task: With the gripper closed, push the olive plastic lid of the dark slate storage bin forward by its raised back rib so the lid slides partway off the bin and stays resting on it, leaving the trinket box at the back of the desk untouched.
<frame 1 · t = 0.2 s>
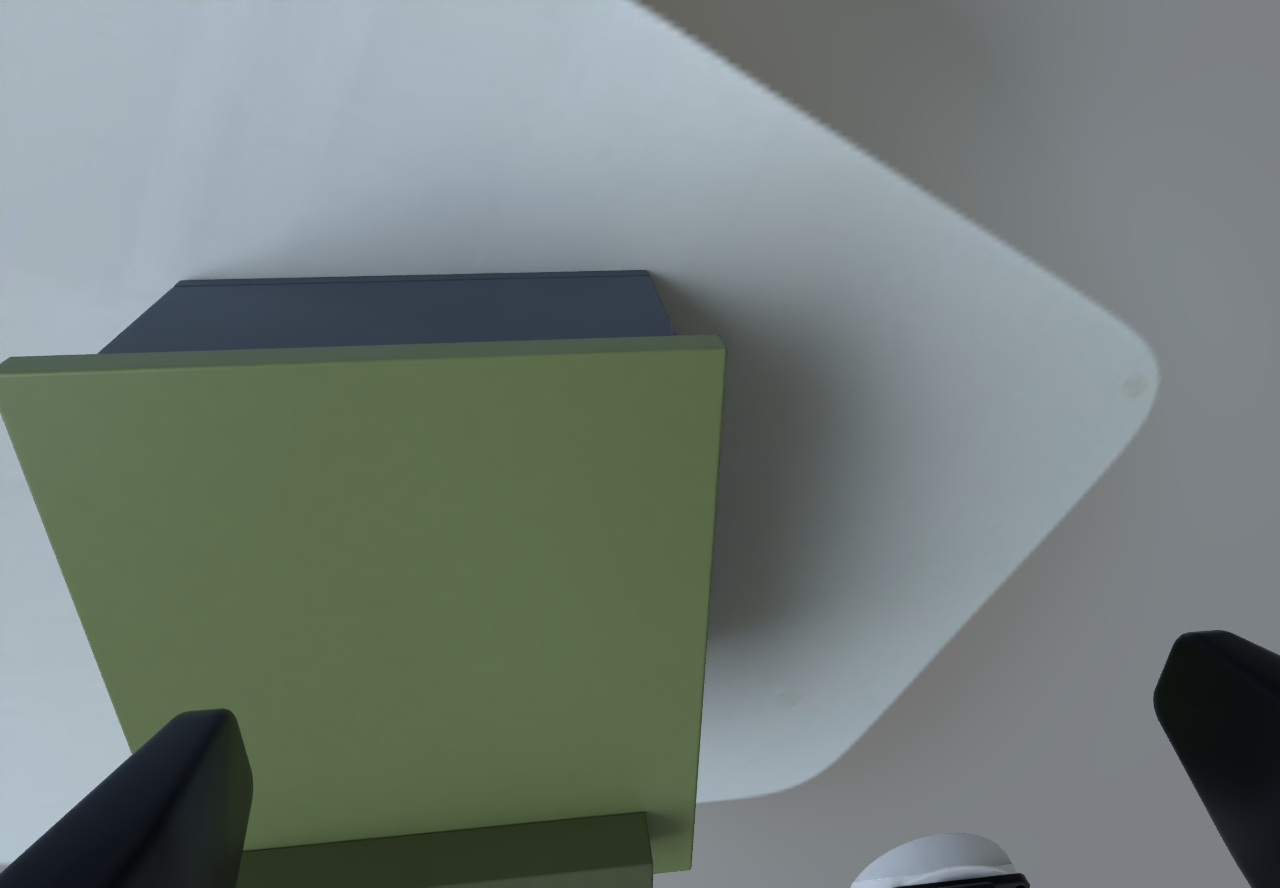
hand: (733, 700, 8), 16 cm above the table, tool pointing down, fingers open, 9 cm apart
bin: (446, 501, 25), on the table
bin lid: (424, 655, 19), point 6 cm above the table, touching bin
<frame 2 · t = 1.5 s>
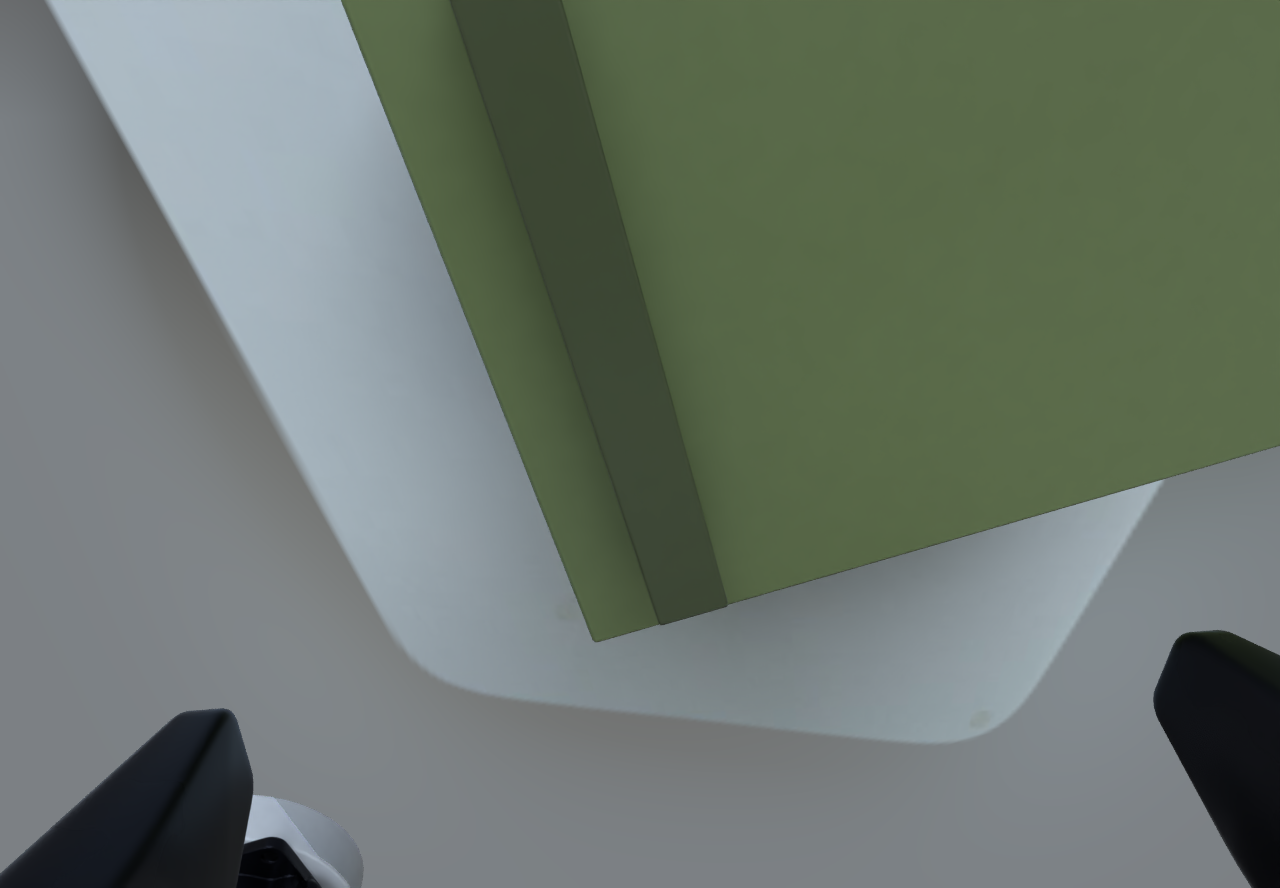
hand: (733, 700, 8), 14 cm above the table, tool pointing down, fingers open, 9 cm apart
bin lid: (932, 195, 13), point 6 cm above the table, touching bin
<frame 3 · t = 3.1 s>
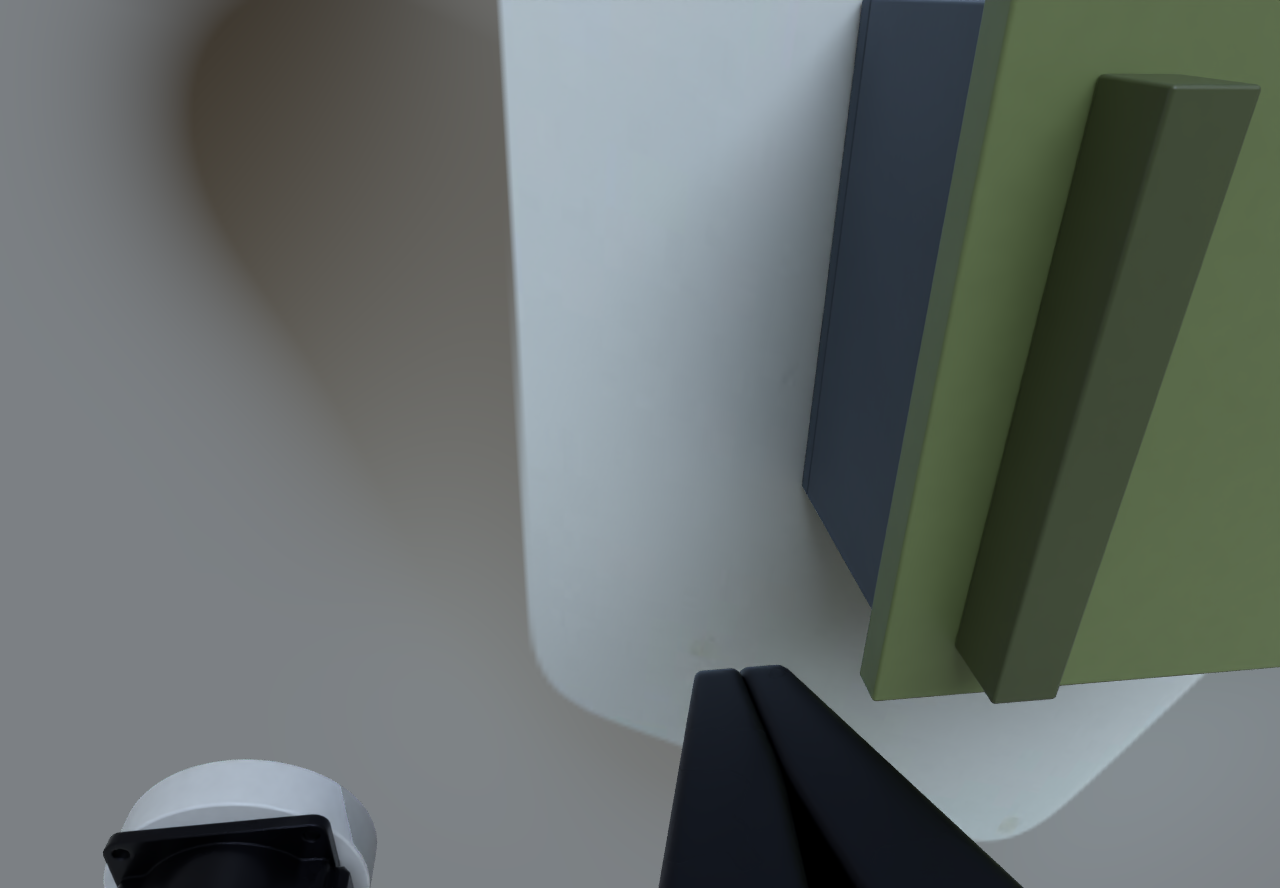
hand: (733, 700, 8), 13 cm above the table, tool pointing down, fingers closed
bin: (1094, 269, 21), on the table
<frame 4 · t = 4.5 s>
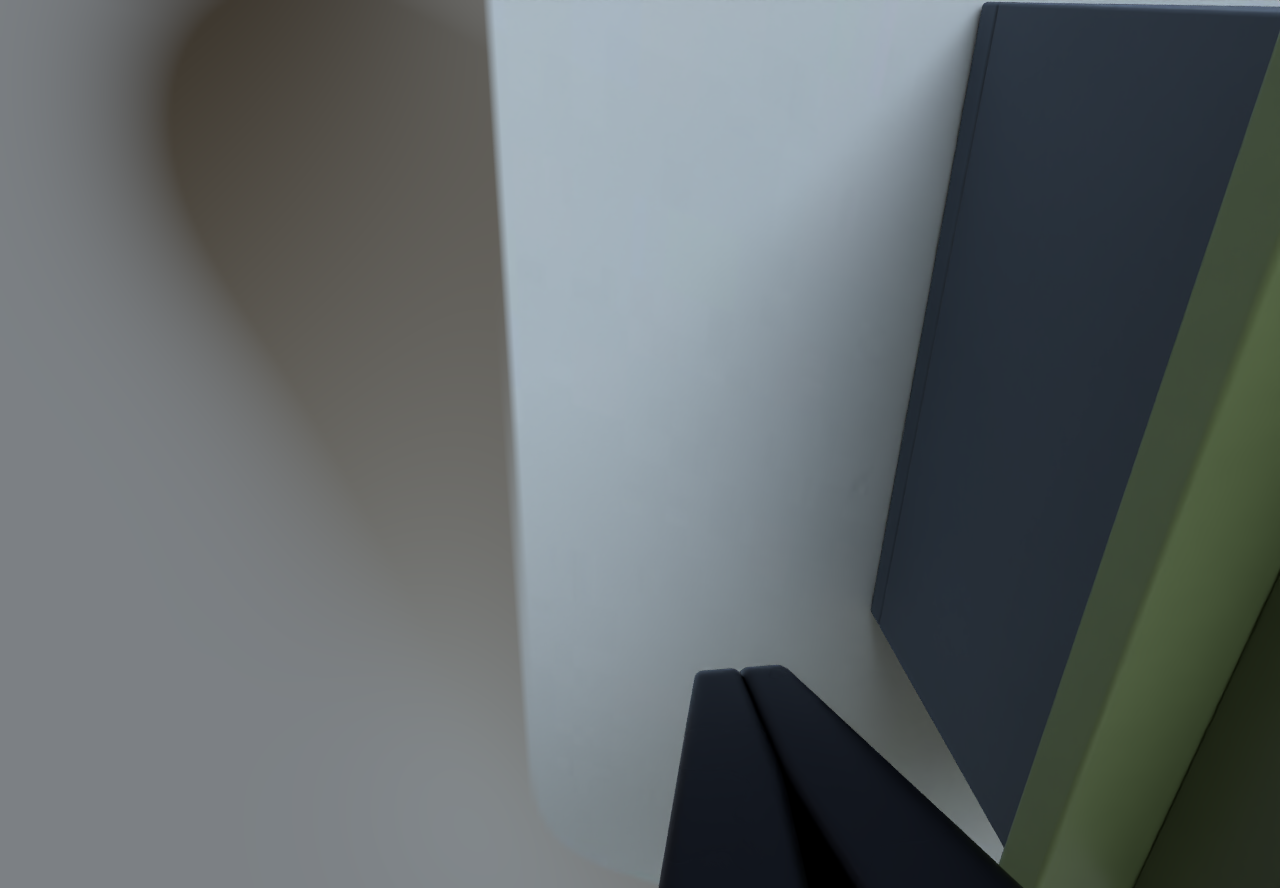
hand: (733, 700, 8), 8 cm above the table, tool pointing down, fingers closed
bin: (1253, 348, 16), on the table
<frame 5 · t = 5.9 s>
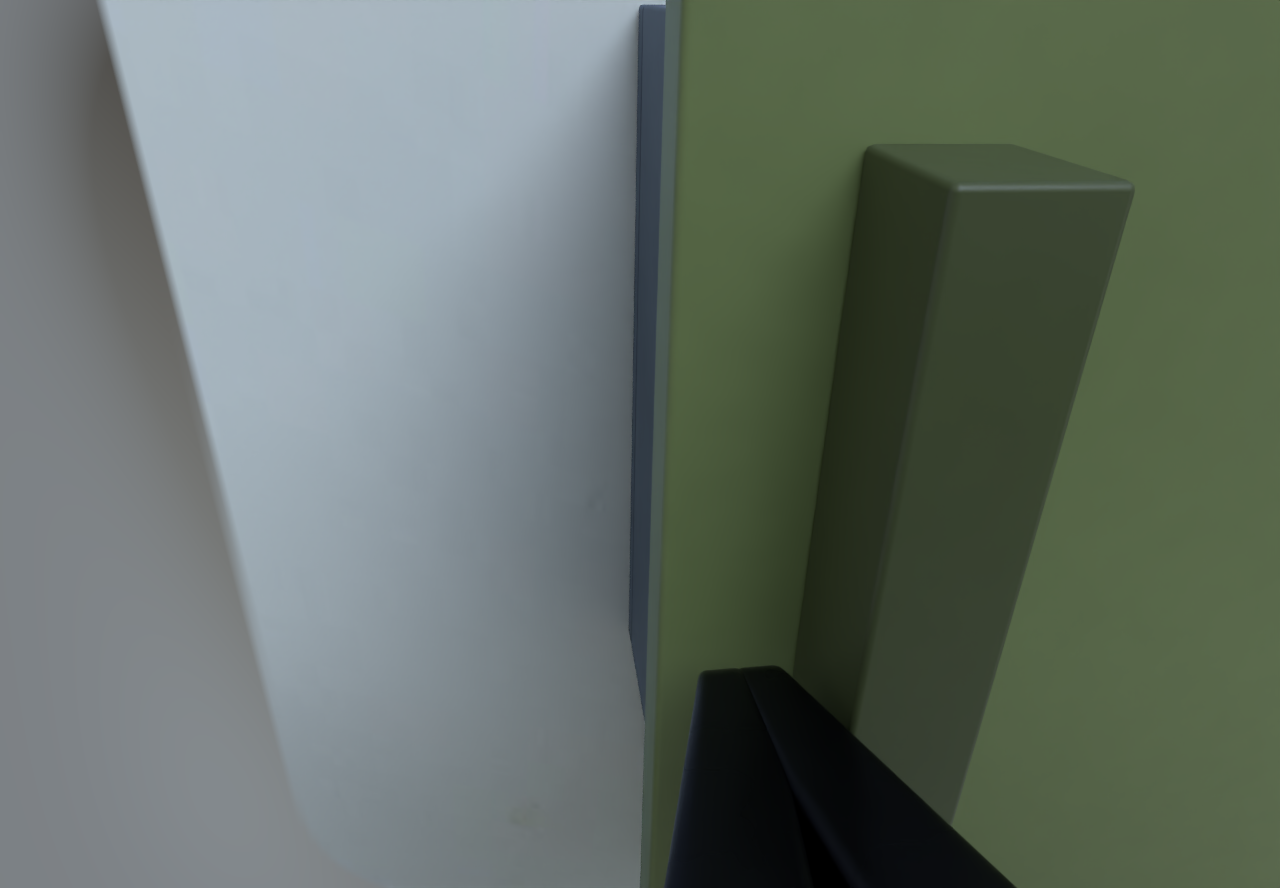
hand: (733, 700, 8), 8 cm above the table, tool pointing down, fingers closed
bin: (995, 362, 16), on the table
bin lid: (1271, 572, 10), point 7 cm above the table, touching bin, gripper
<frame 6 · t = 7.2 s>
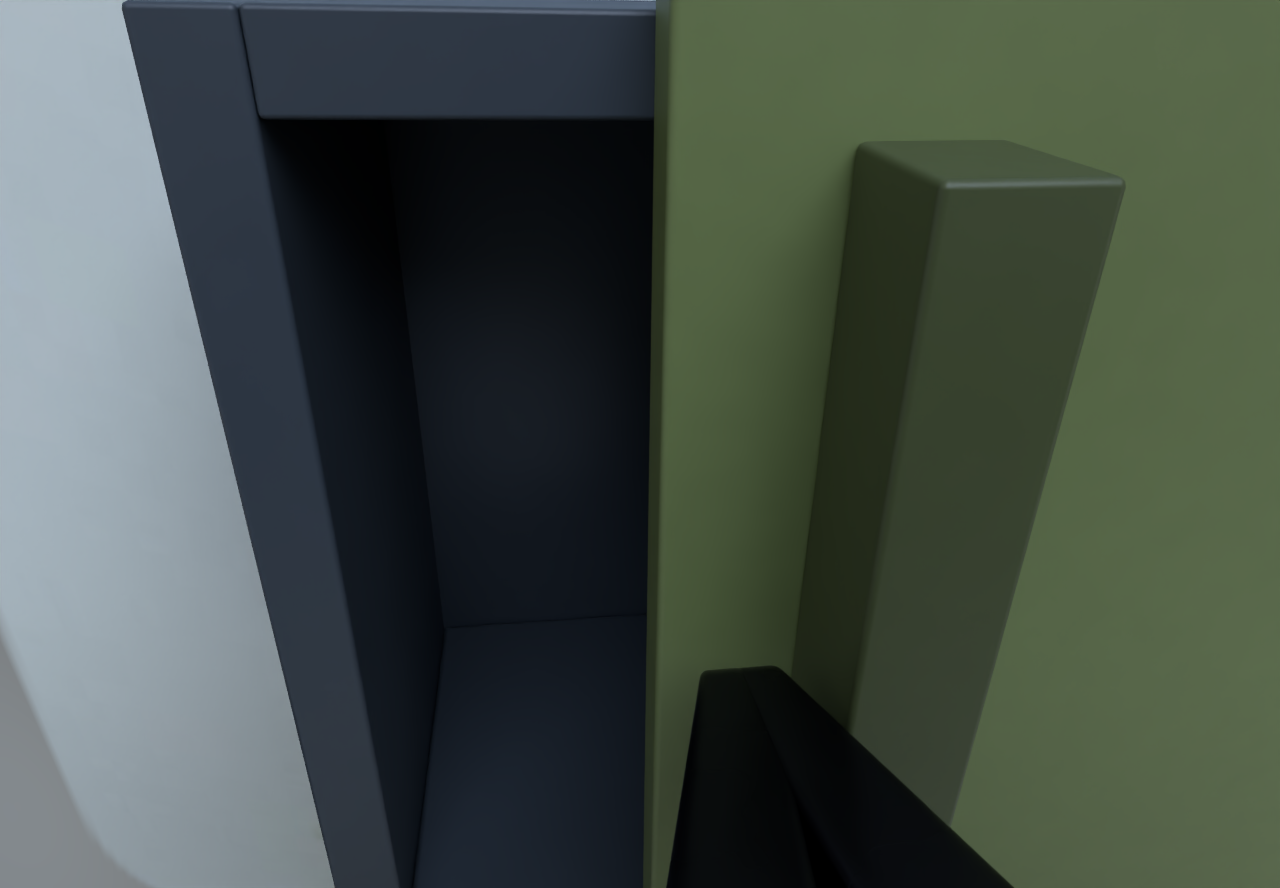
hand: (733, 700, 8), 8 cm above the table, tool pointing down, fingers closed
bin: (761, 367, 15), on the table
bin lid: (1275, 568, 10), point 6 cm above the table, touching bin, gripper
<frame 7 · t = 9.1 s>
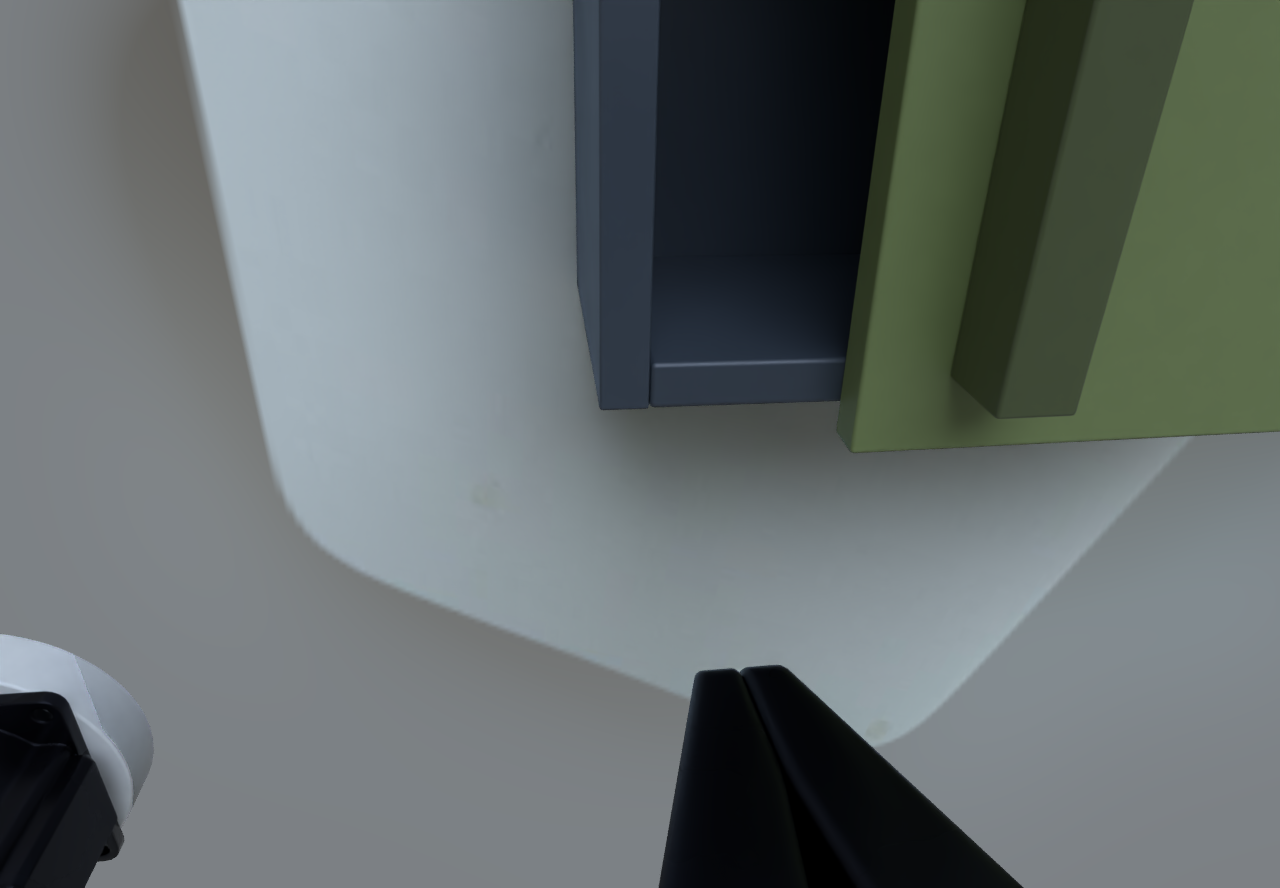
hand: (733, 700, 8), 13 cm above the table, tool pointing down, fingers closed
bin: (907, 3, 17), on the table
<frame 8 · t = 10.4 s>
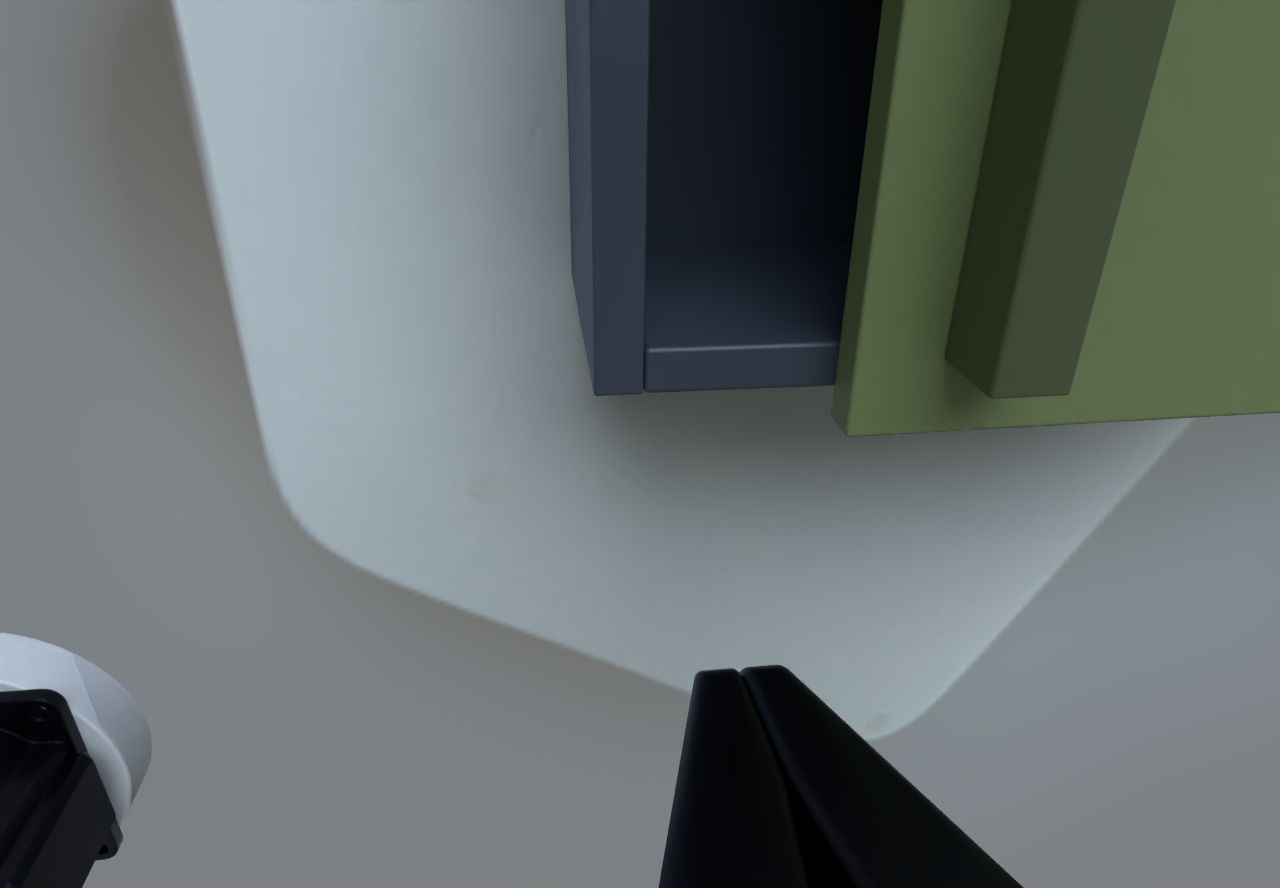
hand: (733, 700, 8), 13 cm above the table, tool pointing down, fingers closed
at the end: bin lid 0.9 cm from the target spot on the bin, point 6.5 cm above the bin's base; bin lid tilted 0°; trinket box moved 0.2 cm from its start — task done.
